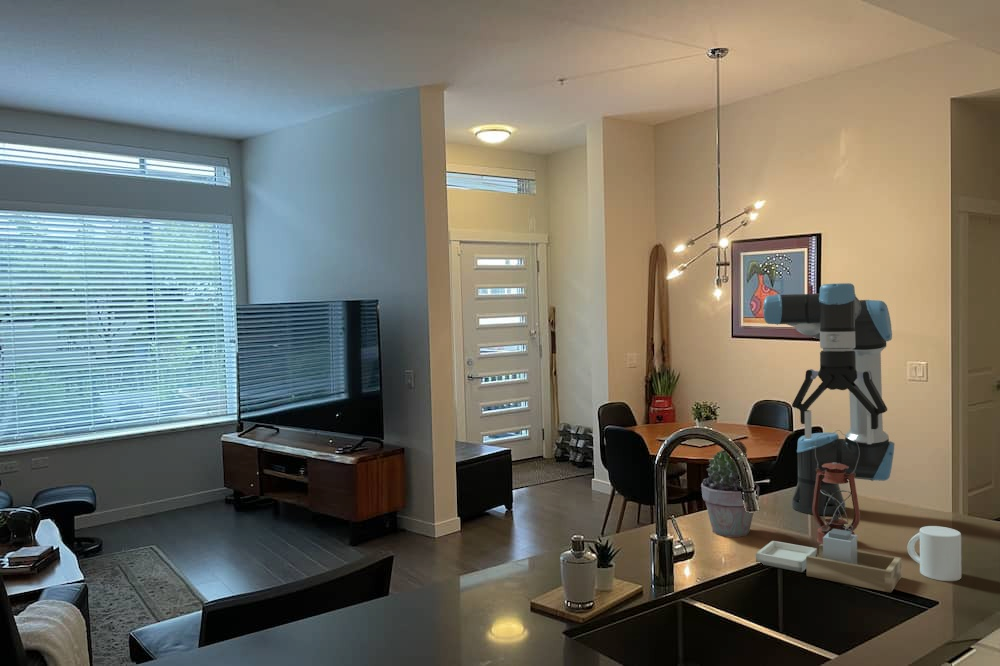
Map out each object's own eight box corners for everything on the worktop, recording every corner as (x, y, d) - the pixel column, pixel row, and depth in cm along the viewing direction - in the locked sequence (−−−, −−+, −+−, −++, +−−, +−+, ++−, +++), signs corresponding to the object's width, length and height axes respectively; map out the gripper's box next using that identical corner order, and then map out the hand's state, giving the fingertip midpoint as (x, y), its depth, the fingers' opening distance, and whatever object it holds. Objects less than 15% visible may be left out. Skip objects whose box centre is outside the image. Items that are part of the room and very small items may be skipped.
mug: (945, 538, 165) (897, 524, 176) (946, 584, 165) (897, 567, 176) (969, 532, 169) (919, 519, 179) (969, 577, 169) (920, 561, 180)
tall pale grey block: (830, 567, 177) (829, 526, 177) (857, 572, 174) (856, 531, 173) (823, 575, 173) (822, 533, 172) (850, 580, 169) (850, 537, 169)
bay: (820, 562, 181) (820, 543, 181) (901, 577, 170) (901, 557, 170) (806, 575, 173) (806, 556, 172) (890, 592, 161) (890, 572, 161)
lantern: (848, 535, 201) (847, 426, 200) (863, 548, 191) (862, 433, 190) (811, 535, 202) (810, 427, 201) (824, 548, 192) (822, 433, 191)
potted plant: (694, 541, 200) (693, 449, 199) (698, 520, 219) (697, 437, 218) (765, 546, 194) (763, 452, 193) (763, 524, 213) (762, 439, 212)
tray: (772, 550, 191) (772, 540, 191) (817, 558, 184) (816, 548, 184) (756, 563, 182) (755, 553, 182) (802, 572, 175) (802, 561, 175)
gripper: (777, 349, 176) (778, 438, 177) (893, 351, 161) (894, 448, 161) (788, 348, 182) (789, 433, 183) (900, 349, 166) (901, 443, 167)
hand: (838, 440), depth 172 cm, fingers open, 13 cm apart
